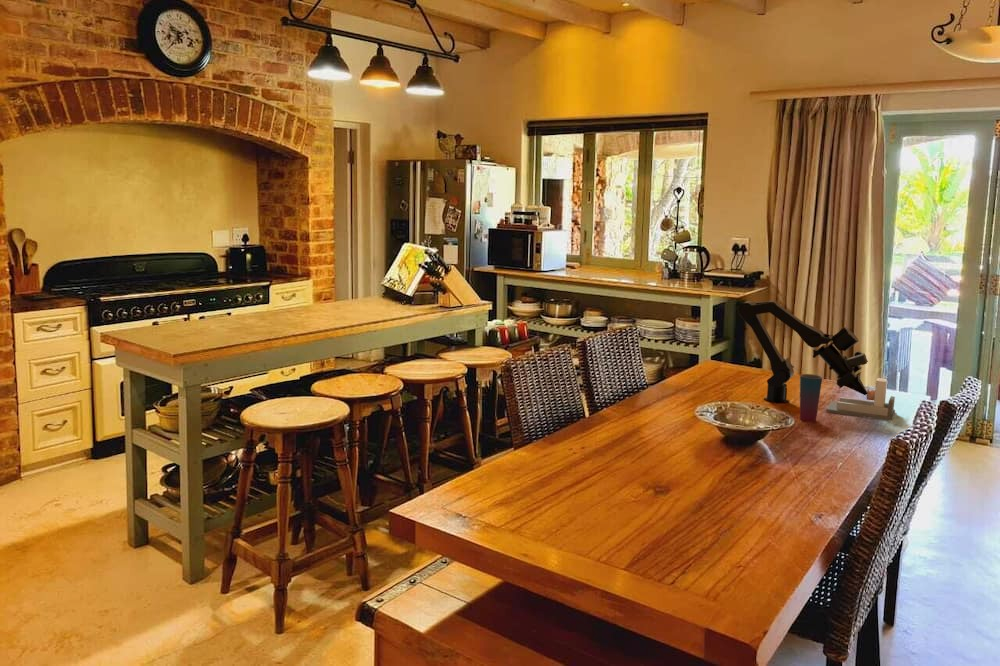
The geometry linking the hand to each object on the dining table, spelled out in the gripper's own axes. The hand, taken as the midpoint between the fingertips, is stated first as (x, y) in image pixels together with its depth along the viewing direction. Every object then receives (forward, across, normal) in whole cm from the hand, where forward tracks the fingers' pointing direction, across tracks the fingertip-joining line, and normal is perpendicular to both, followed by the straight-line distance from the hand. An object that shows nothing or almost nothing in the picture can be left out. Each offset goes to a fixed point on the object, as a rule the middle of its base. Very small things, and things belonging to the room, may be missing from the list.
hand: (866, 394), depth 263 cm
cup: (-6, -20, +16) cm, 26 cm away
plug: (+6, 0, +2) cm, 6 cm away
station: (+4, 0, +6) cm, 7 cm away
